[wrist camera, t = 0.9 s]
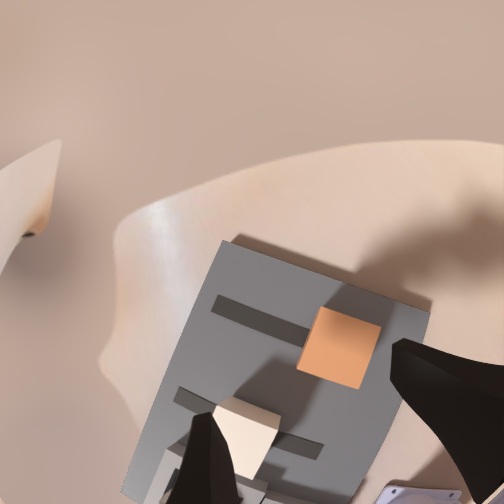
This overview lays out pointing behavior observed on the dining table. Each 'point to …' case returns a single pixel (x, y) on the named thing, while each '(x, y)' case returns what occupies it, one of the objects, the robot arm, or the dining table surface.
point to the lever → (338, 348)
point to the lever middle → (246, 433)
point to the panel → (274, 381)
